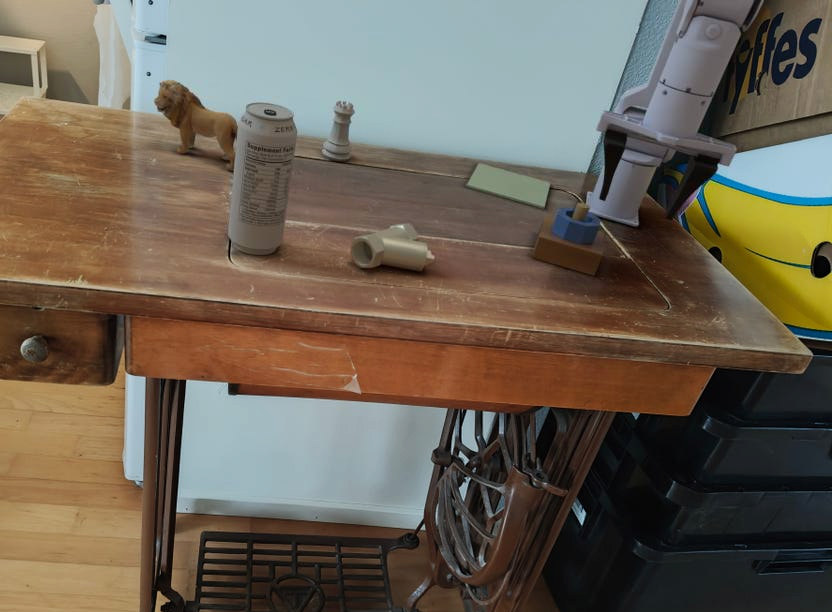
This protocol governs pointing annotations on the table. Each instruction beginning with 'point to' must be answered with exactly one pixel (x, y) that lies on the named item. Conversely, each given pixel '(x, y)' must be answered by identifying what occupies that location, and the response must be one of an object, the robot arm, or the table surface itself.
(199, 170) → the table surface
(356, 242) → the pipe fitting
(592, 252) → the dowel stand
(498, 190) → the mat
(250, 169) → the energy drink can
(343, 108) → the rook chess piece
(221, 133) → the lion figurine
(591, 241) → the ring
